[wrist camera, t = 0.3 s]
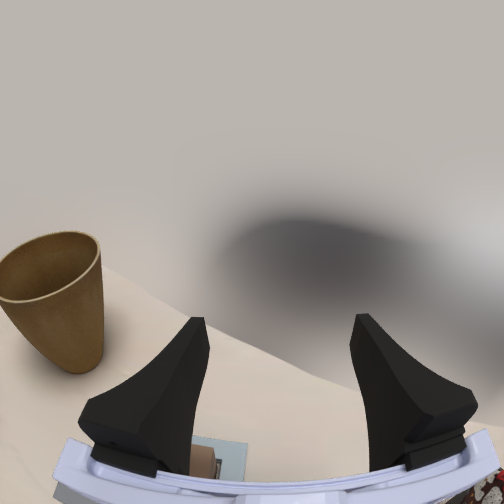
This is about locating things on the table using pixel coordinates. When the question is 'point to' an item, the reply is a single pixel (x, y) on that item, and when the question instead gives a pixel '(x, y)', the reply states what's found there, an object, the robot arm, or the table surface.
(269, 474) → the table surface
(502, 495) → the sundae
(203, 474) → the walnut block
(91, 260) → the plant pot
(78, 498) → the plate
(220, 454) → the pocket holder
